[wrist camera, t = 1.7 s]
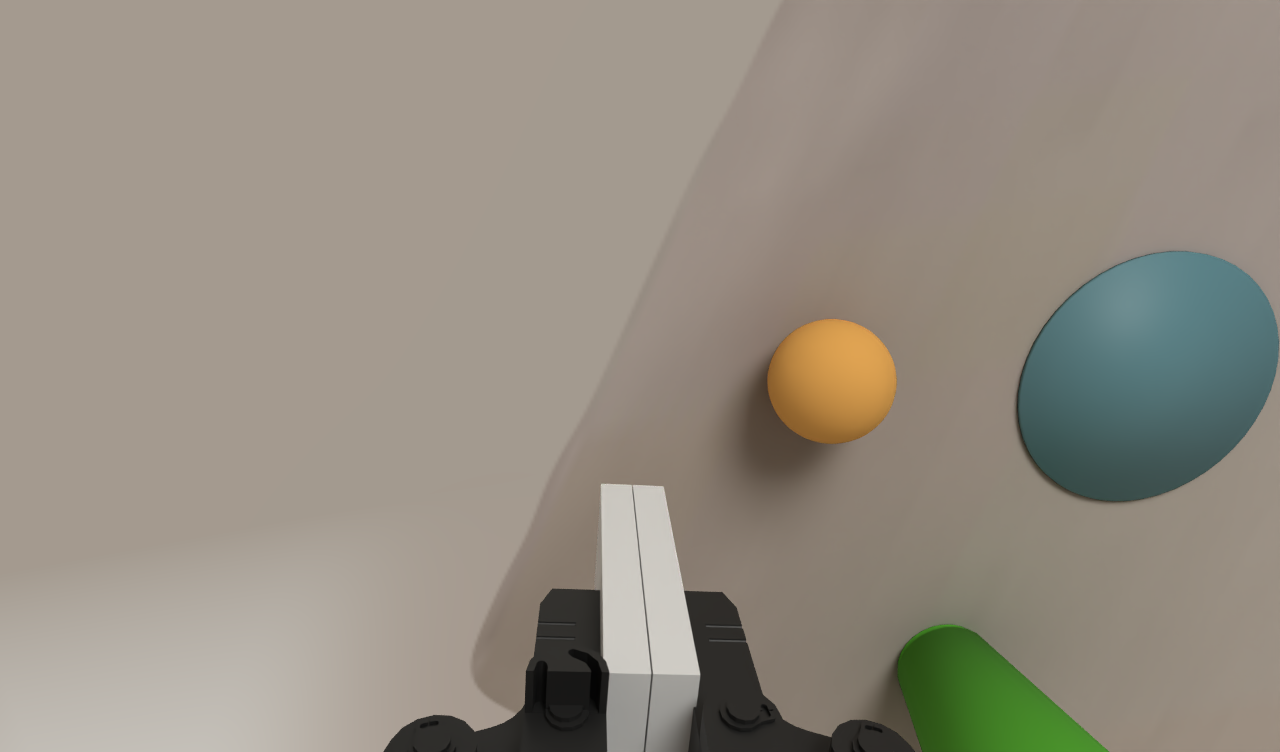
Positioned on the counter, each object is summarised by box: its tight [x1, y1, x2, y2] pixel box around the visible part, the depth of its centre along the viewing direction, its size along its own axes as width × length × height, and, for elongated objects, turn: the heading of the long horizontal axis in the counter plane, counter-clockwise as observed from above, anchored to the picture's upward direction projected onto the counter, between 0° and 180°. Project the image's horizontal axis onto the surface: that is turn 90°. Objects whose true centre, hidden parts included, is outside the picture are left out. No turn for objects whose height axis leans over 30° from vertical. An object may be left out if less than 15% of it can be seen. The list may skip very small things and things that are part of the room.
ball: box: [767, 319, 897, 444], centre depth 31 cm, size 6×6×6 cm
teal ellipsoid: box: [1018, 251, 1279, 501], centre depth 35 cm, size 13×13×1 cm
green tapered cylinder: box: [898, 625, 1109, 752], centre depth 35 cm, size 9×9×11 cm
